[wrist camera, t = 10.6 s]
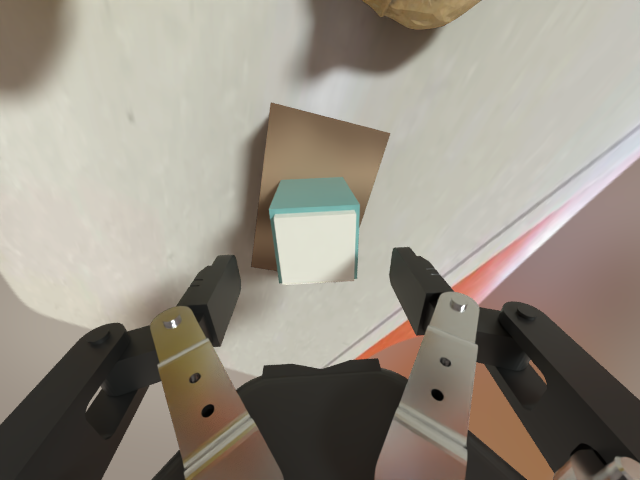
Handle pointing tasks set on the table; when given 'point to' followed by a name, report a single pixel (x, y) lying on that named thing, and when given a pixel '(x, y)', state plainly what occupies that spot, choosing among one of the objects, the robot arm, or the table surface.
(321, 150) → the brown rectangular block
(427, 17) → the oil lamp
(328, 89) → the table surface
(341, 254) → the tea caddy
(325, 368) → the robot arm
